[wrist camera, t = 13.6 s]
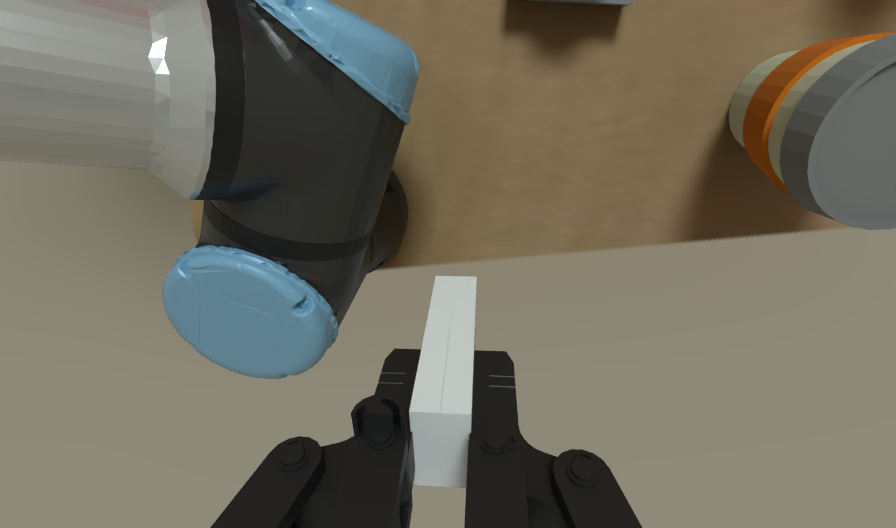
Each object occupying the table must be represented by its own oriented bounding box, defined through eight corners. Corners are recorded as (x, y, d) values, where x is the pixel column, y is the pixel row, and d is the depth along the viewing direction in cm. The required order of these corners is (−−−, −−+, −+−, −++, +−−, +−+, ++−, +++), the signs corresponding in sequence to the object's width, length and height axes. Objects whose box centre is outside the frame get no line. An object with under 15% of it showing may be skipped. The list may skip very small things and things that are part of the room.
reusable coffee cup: (747, 196, 46) (849, 266, 32) (681, 99, 42) (767, 134, 29) (883, 109, 41) (1068, 150, 28) (822, -9, 37) (1002, -26, 24)
